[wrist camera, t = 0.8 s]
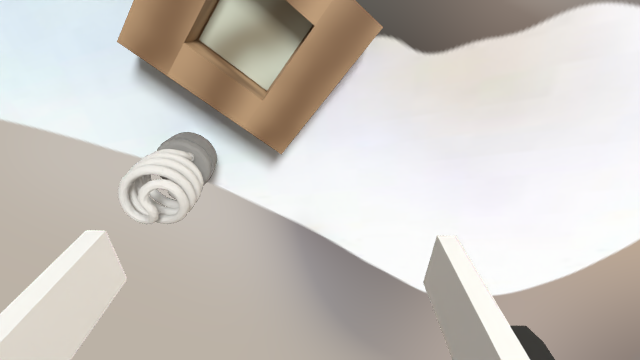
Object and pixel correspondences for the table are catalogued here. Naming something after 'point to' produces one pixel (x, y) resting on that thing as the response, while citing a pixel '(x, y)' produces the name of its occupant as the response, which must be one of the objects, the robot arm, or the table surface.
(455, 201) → the table surface
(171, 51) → the socket board
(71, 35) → the table surface
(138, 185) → the light bulb
